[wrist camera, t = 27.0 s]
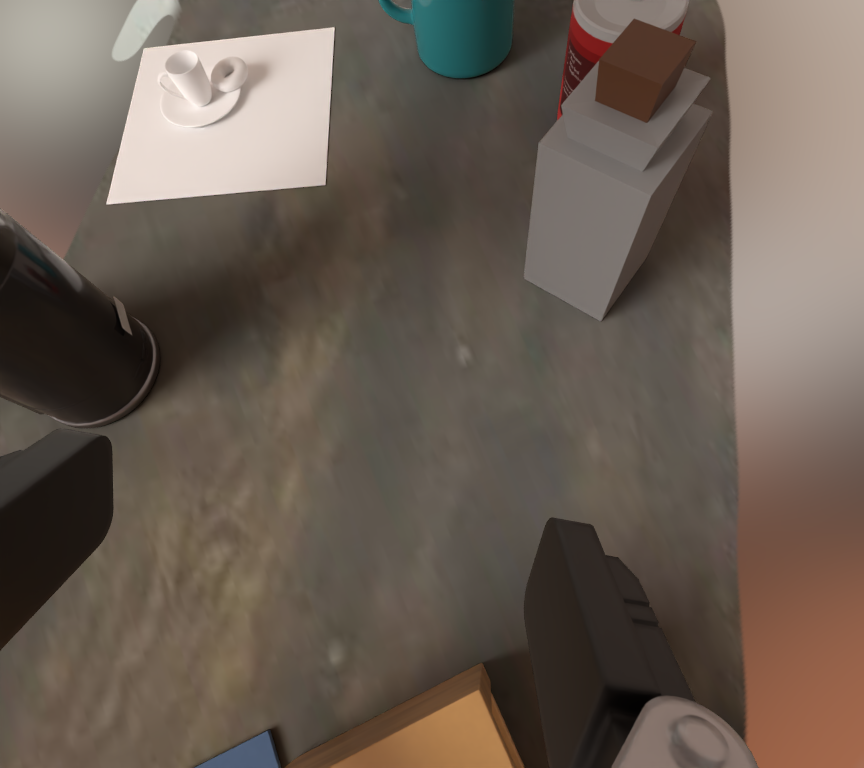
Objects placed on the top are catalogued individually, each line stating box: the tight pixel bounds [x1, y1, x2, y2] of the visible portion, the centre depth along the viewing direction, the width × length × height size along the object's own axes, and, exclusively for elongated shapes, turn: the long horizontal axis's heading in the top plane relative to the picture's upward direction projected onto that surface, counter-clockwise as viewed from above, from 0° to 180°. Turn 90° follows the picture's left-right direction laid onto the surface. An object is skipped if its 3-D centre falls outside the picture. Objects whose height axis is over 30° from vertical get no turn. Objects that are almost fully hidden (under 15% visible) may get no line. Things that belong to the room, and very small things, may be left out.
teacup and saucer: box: [157, 49, 249, 128], centre depth 52 cm, size 9×8×4 cm
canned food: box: [557, 0, 689, 120], centre depth 43 cm, size 8×8×11 cm
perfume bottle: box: [524, 19, 713, 321], centre depth 34 cm, size 7×7×18 cm
